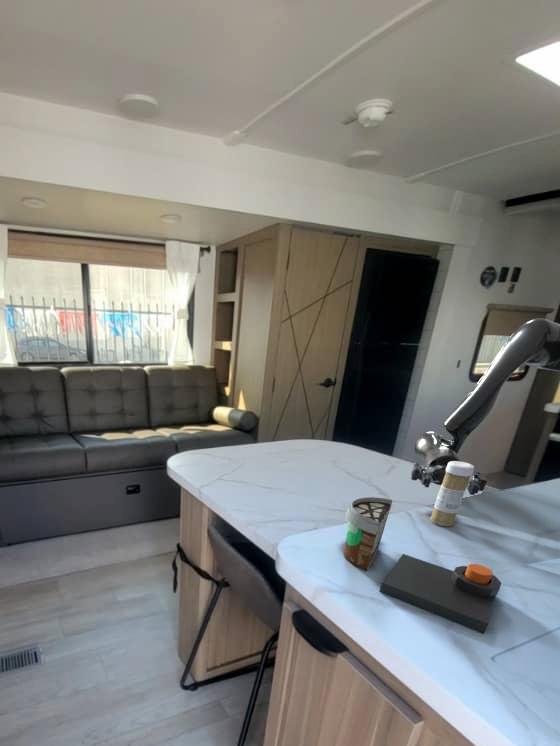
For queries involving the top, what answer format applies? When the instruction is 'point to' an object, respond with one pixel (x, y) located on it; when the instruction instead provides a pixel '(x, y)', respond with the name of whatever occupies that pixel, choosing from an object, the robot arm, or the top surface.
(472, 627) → the scale
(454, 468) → the sprinkles bottle
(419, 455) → the robot arm
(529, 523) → the top surface
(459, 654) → the top surface
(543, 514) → the top surface
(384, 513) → the food container
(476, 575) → the button
